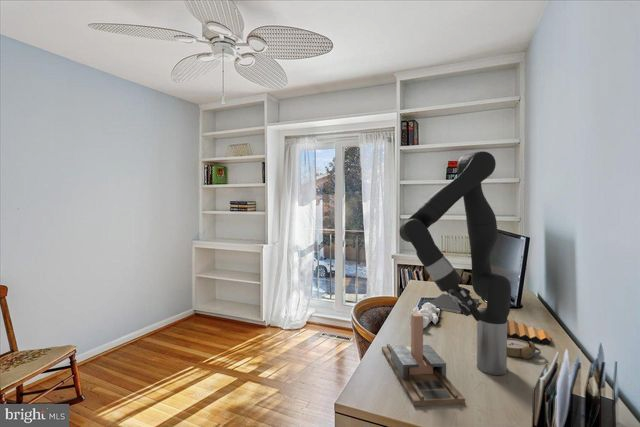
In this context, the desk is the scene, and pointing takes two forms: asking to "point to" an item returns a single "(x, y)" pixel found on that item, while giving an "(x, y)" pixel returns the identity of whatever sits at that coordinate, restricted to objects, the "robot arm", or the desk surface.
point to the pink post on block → (418, 346)
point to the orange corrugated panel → (526, 333)
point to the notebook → (448, 303)
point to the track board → (426, 386)
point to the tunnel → (406, 360)
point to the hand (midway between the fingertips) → (474, 317)
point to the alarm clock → (521, 348)
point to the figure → (427, 313)
